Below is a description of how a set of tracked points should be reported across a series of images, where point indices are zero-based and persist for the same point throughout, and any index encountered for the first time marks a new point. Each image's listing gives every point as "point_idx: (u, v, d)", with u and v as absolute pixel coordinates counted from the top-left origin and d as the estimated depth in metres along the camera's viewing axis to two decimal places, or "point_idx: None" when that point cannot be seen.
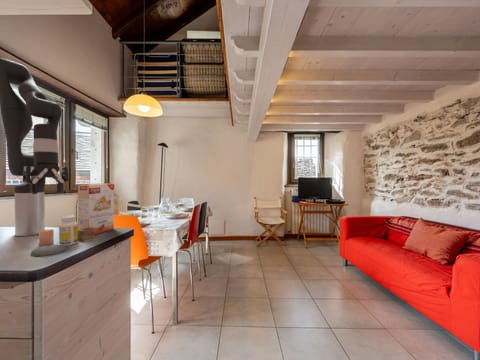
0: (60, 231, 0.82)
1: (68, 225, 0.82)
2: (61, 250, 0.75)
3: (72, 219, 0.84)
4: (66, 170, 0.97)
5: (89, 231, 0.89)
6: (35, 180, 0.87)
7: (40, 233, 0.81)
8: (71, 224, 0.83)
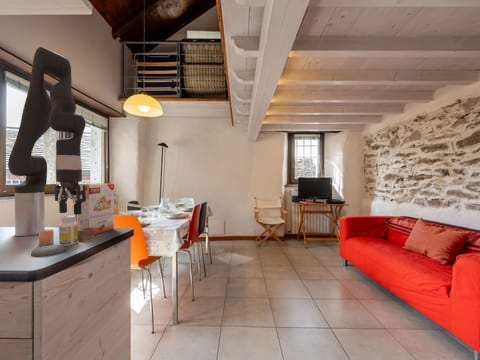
0: (60, 231, 0.82)
1: (68, 225, 0.82)
2: (61, 250, 0.75)
3: (72, 219, 0.84)
4: None
5: (89, 231, 0.89)
6: None
7: (40, 233, 0.81)
8: (71, 224, 0.83)
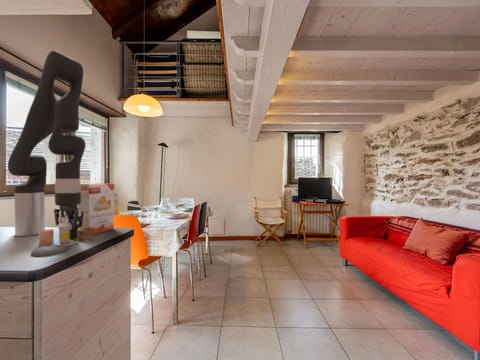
0: (60, 231, 0.82)
1: (68, 225, 0.82)
2: (61, 250, 0.75)
3: (72, 219, 0.84)
4: None
5: (89, 231, 0.89)
6: None
7: (40, 233, 0.81)
8: None
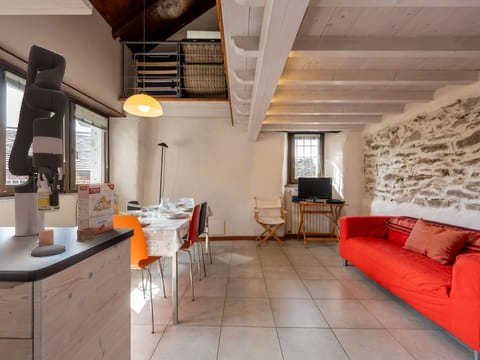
0: (38, 196, 0.73)
1: None
2: (61, 250, 0.75)
3: None
4: None
5: (89, 231, 0.89)
6: None
7: (40, 233, 0.81)
8: None
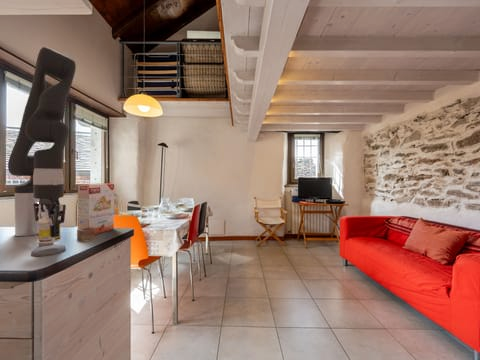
0: (39, 227, 0.73)
1: (48, 220, 0.73)
2: (61, 250, 0.75)
3: (53, 214, 0.75)
4: None
5: (89, 231, 0.89)
6: None
7: None
8: None
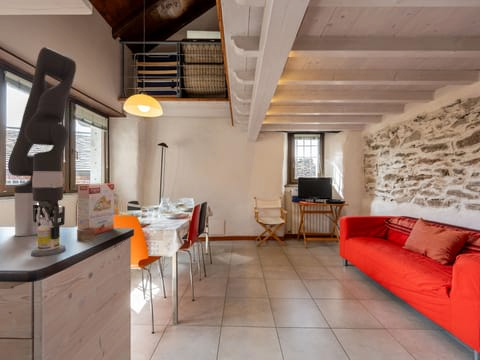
0: (38, 235, 0.73)
1: (47, 227, 0.73)
2: (61, 250, 0.75)
3: None
4: None
5: (89, 231, 0.89)
6: None
7: None
8: None
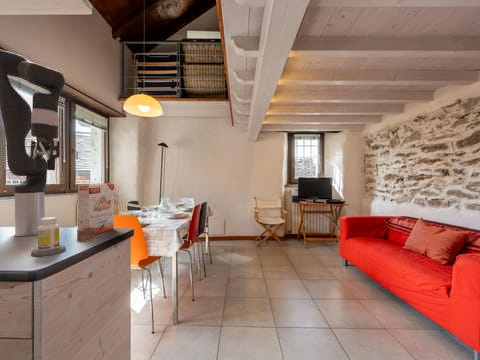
0: (39, 234, 0.73)
1: (48, 227, 0.73)
2: (61, 250, 0.75)
3: (53, 221, 0.75)
4: None
5: (89, 231, 0.89)
6: None
7: None
8: (51, 226, 0.74)
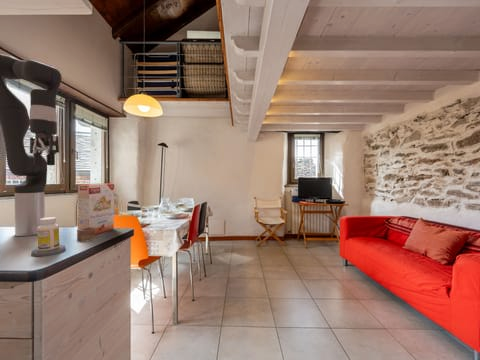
0: (38, 235, 0.73)
1: (47, 228, 0.73)
2: (61, 250, 0.75)
3: (52, 221, 0.75)
4: None
5: (89, 231, 0.89)
6: None
7: None
8: (50, 226, 0.74)
